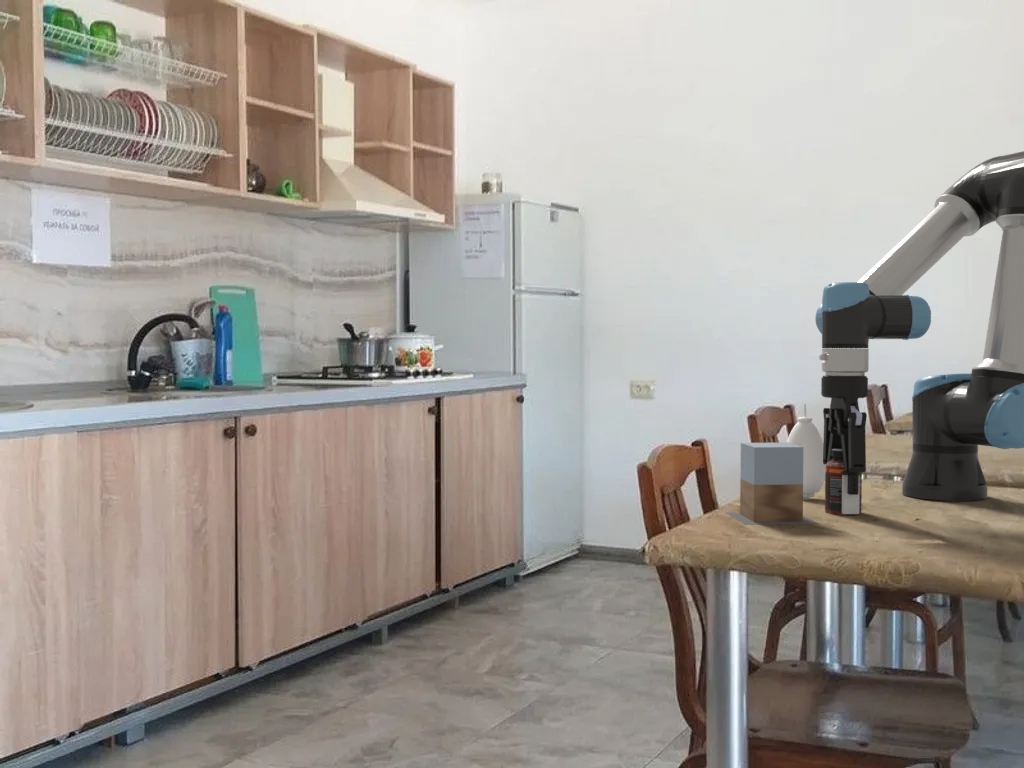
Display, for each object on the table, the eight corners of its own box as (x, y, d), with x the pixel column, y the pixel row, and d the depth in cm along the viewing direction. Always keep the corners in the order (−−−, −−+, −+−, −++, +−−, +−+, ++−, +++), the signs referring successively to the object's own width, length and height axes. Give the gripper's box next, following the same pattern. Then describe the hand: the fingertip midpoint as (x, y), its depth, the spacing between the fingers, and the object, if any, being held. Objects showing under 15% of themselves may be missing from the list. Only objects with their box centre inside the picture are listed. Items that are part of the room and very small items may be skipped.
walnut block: (787, 513, 182) (787, 478, 182) (802, 521, 174) (803, 484, 174) (740, 514, 182) (740, 478, 182) (753, 522, 174) (754, 484, 174)
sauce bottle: (810, 503, 199) (811, 405, 198) (774, 498, 204) (775, 403, 204) (834, 499, 204) (835, 403, 203) (798, 494, 210) (799, 401, 209)
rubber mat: (794, 515, 185) (794, 511, 185) (819, 527, 173) (819, 523, 173) (725, 516, 184) (725, 512, 184) (744, 528, 172) (744, 524, 172)
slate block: (787, 478, 182) (787, 442, 182) (803, 484, 174) (803, 447, 174) (740, 478, 182) (740, 442, 182) (754, 484, 174) (754, 447, 174)
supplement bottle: (863, 519, 181) (864, 451, 180) (826, 518, 182) (826, 450, 181) (859, 513, 186) (860, 447, 186) (823, 512, 188) (824, 447, 187)
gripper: (804, 372, 192) (803, 502, 193) (843, 375, 174) (841, 519, 174) (845, 372, 193) (844, 502, 194) (889, 375, 174) (887, 519, 175)
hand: (843, 510), depth 184 cm, fingers closed on supplement bottle, 6 cm apart
